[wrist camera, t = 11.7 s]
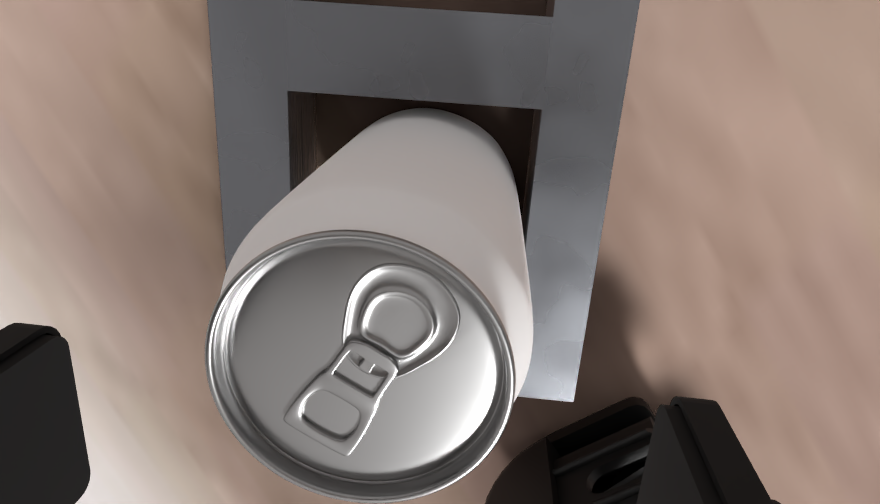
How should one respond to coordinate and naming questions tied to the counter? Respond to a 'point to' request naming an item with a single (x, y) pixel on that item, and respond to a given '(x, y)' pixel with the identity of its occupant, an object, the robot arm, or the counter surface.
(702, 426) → the robot arm
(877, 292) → the counter surface
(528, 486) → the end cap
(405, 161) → the can
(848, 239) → the counter surface
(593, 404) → the counter surface
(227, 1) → the grey windowed frame
